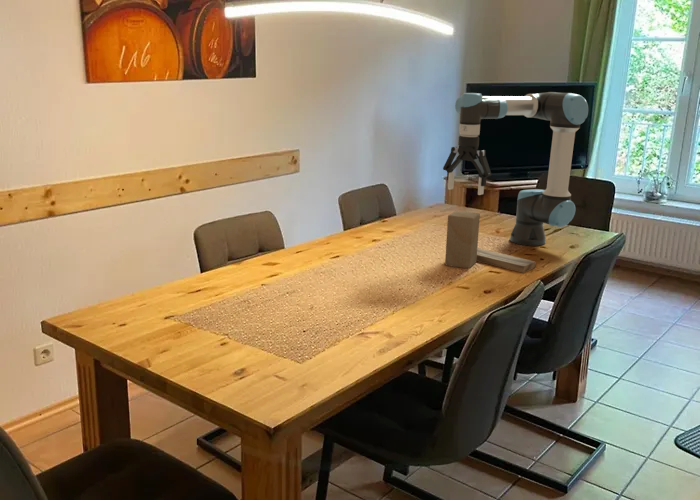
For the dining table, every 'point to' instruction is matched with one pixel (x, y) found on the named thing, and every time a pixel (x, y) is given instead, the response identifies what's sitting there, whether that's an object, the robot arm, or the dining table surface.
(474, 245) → the wooden block
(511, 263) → the curved panel
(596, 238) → the dining table surface
